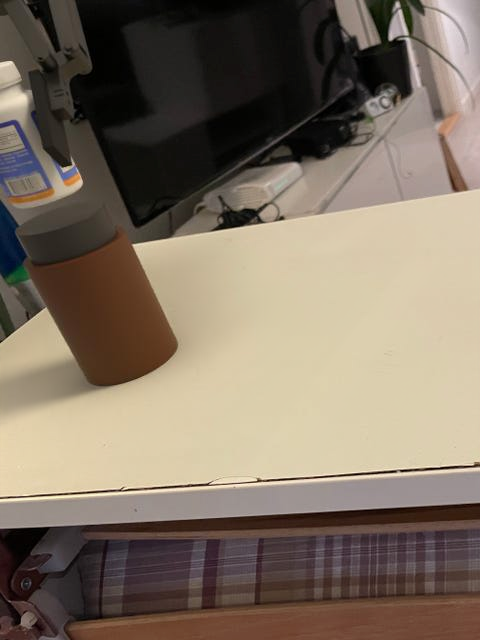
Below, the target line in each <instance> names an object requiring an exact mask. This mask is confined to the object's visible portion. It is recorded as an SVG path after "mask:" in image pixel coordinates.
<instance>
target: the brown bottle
mask: <svg viewBox="0 0 480 640" xmlns="http://www.w3.org/2000/svg"><path fill="white" fill-rule="evenodd" d="M14 233H15V236H16V238H17V239H18V241H19V243H20V245H21V247H22V249H23V251H24V253H25V254H26V258H25V259H24V260H23V262H22V266H23V268H24V270H25V271H26V273H27V275H28V276H29V278H30V280H31V282H32V284H33V286H34V288H35V289H36V291H37V293H38V294H39V296H40V298H41V300H42V302H43V304H44V306H45V307H46V309H47V311H48V313H49V314H50V317H51V318H52V320H53V322H54V323H55V325H56V327H57V329H58V331H59V332H60V334H61V336H62V338H63V340H64V341H65V343H66V345H67V347H68V349H69V350H70V353H71V354H72V355H73V357H74V359H75V361H76V363H77V365H78V366H79V368H80V370H81V372H82V374H83V376H84V377H85V379H86V380H87V382H88V383H90V384H92V385H96V386H101V387H102V386H104V387H105V386H114V385H119V384H123V383H126V382H130V381H132V380H135V379H136V380H137V379H138V378H140V377H143V376H145V375H147V374H149V373H151V372H153V371H155V370H156V369H158V368H160V367H161V366H162V365H164V364H166V362H167V361H168V360H170V359H171V358H172V357H173V356H174V355H175V353H176V351H177V350H178V347H179V341H178V340H177V337H176V335H175V333H174V331H173V329H172V326H171V324H170V323H169V320H168V318H167V315H166V314H165V312H164V310H163V307H162V305H161V303H160V301H159V299H158V297H157V295H156V293H155V290H154V288H153V286H152V284H151V282H150V280H149V278H148V275H147V274H146V271H145V269H144V267H143V264H142V263H141V261H140V259H139V256H138V255H137V252H136V249H135V248H134V245H133V244H132V241H131V239H130V237H129V235H128V233H127V231H126V229H125V227H123V226H121V225H115V224H114V221H113V219H112V218H111V215H110V213H109V211H108V209H107V207H106V204H105V202H103V201H102V200H98V199H95V200H94V199H91V200H84V201H78V202H73V203H70V204H66V205H62V206H59V207H56V208H53V209H49V210H47V211H44V212H42V213H40V214H38V215H35V216H34V217H32V218H30V219H28V220H26V221H24V222H23V223H21V224H20V225H19V226H18V227H16V229H15V230H14Z"/></svg>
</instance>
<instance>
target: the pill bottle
mask: <svg viewBox="0 0 480 640" xmlns="http://www.w3.org/2000/svg"><path fill="white" fill-rule="evenodd" d="M22 81H23V79H22V75H21V74H20V72H19V70H18V67H17V66H16V64H15V63H14V61H12V60H7V61H1V62H0V186H1V188H2V190H3V192H4V193H5V195H6V197H7V199H8V200H9V202H10V204H11V205H12V206H13V207H14V208H15V209H22V210H23V209H33V208H36V207H40V206H44V205H48V204H51V203H53V202H56V201H60V200H62V199H64V198H67V197H69V196H71V195H73V194H75V193H76V192H78V191H79V190H80V189H81V188H82V186H83V185H84V181H83V179H82V175H81V173H80V171H79V169H78V168H77V165H76V163H75V161H74V159H73V157H72V155H71V154H70V156H71V161H72V166H68V167H64V168H62V167H61V166H60V165H59V164H58V163H57V162H56V161H55V160H54V159H53V158H52V157H51V156H50V155H49V154H48V153H47V152H46V151H45V150H44V149H43V146H42V141H41V136H40V131H39V126H38V121H37V116H36V110H35V105H34V100H33V95H32V90H31V89H26V88H24V87H23V85H22V84H21V82H22Z"/></svg>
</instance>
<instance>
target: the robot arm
mask: <svg viewBox="0 0 480 640" xmlns="http://www.w3.org/2000/svg"><path fill="white" fill-rule="evenodd" d="M47 1H48V5H49V9H50V13H51V17H52V21H53V25H54V28H55V32H56V36H57V37H56V38H57V42H58V45H59V49H60V50H59V51H58V52H55V50H54V49H53V47H52V46H51V44H50V42H49V41H48V39H47V37H46V36H45V34H44V32H43V31H42V29H41V27H40V26H39V24H38V22H37V20H36V18H35V16H34V14H33V12H32V11H31V9H30V7H29V6H28V4H27V2H26V1H25V0H0V17H5V16H9V18H10V20H11V21H12V23H13V25H14V27H15V28H16V30H17V32H18V33H19V34H20V37H21V38H22V40H23V41H24V44H25V45H26V47H27V49H28V51H29V52H30V54H31V55H32V60H34V62H35V63H36V64H37V65H38V67H39V68H40V69H39V68H38V69H33V70H29V71H27V75H28V80H29V85H30V90H32V95H33V100H34V105H35V110H36V116H37V121H38V126H39V131H40V136H41V141H42V146H43V149H44V150H45V151H46V152H47V153H48V154H49V155H50V156H51V157H52V158H53V159H54V160H55V161H56V162H57V163H58V164H59V165H60V166H61V167H62V168H64V167H68V166H72V161H71V157H72V155H71V152H70V147H69V142H68V137H67V133H66V132H67V131H66V126H65V123H64V122H65V121H69V120H72V119H73V120H74V116H75V113H76V111H75V107H74V102H73V98H72V93H71V88H70V82H71V80H72V78H74V77H75V76H76V75H78V74H79V75H83V76H84V75H87V74H90V73H91V72H92V70H93V64H92V60H91V55H90V52H89V48H88V45H87V41H86V37H85V33H84V30H83V25H82V22H81V18H80V14H79V10H78V7H77V2H76V0H47ZM70 155H71V156H70Z"/></svg>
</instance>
